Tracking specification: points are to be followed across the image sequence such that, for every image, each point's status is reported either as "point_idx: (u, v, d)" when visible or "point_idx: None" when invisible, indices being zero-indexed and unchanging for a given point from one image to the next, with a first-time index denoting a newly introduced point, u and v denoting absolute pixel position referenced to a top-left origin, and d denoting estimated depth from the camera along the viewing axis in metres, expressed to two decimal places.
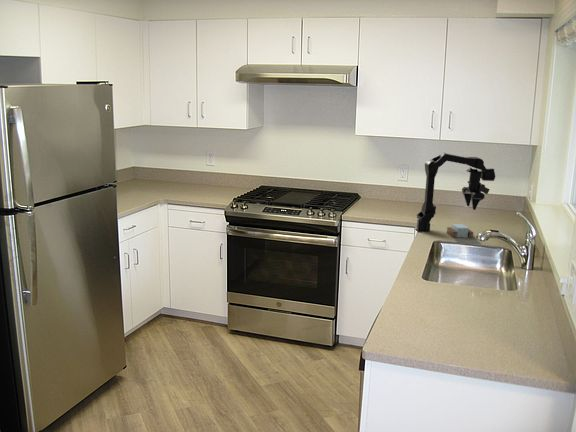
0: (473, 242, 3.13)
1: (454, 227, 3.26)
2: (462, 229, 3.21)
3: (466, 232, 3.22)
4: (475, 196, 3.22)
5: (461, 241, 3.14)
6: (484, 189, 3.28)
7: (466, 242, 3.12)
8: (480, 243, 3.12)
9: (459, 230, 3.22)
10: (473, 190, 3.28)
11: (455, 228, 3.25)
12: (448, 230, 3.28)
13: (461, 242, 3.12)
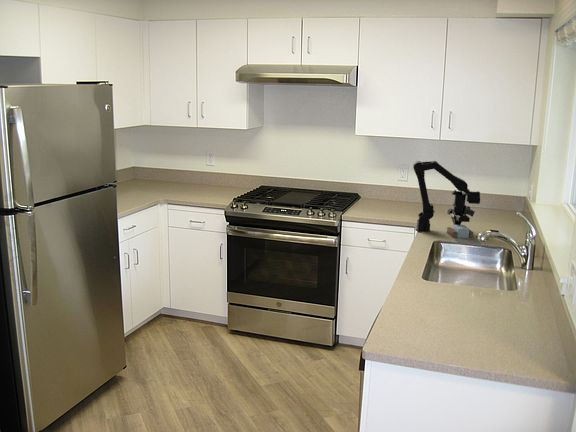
0: (473, 242, 3.13)
1: (455, 228, 3.25)
2: (463, 230, 3.21)
3: (467, 233, 3.21)
4: (460, 219, 3.20)
5: (461, 241, 3.14)
6: (469, 211, 3.26)
7: (466, 242, 3.12)
8: (480, 243, 3.12)
9: (460, 231, 3.21)
10: (458, 213, 3.26)
11: (456, 229, 3.23)
12: (448, 230, 3.28)
13: (461, 242, 3.12)
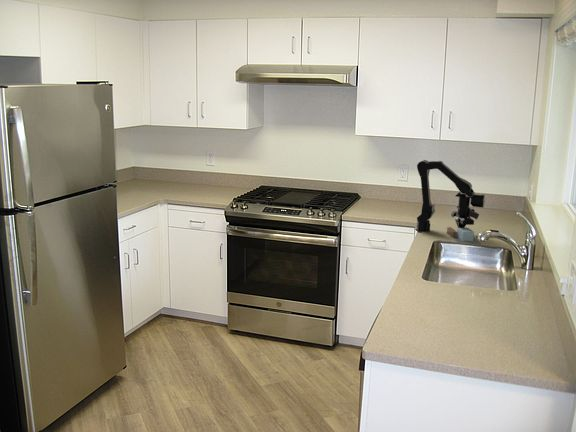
0: (473, 242, 3.13)
1: (459, 231, 3.19)
2: (468, 233, 3.14)
3: (472, 236, 3.15)
4: (464, 222, 3.14)
5: (461, 241, 3.14)
6: (474, 214, 3.20)
7: (466, 242, 3.12)
8: (480, 243, 3.12)
9: (465, 234, 3.14)
10: (462, 215, 3.20)
11: (460, 232, 3.17)
12: (448, 230, 3.28)
13: (461, 242, 3.12)
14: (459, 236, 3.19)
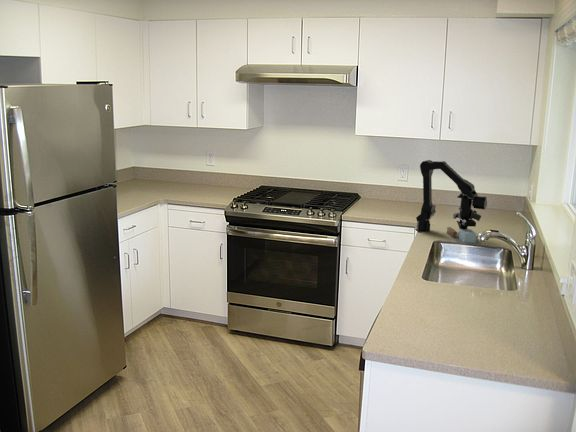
0: None
1: (461, 232, 3.16)
2: (470, 234, 3.11)
3: (474, 237, 3.12)
4: (466, 224, 3.11)
5: (461, 241, 3.14)
6: (476, 216, 3.17)
7: None
8: (480, 243, 3.12)
9: (467, 235, 3.11)
10: (464, 217, 3.17)
11: (462, 233, 3.14)
12: (448, 230, 3.28)
13: (461, 242, 3.12)
14: (461, 238, 3.16)
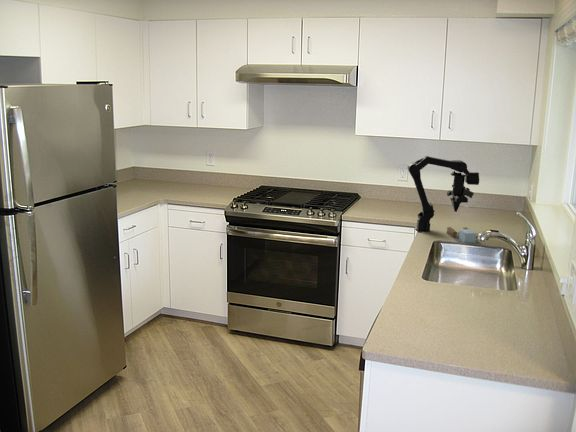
0: None
1: (461, 232, 3.16)
2: (470, 234, 3.11)
3: (474, 237, 3.12)
4: (458, 200, 3.19)
5: (461, 241, 3.14)
6: (468, 193, 3.25)
7: None
8: (480, 243, 3.12)
9: (467, 235, 3.11)
10: (457, 194, 3.25)
11: (462, 233, 3.14)
12: (448, 230, 3.28)
13: (461, 242, 3.12)
14: (461, 238, 3.16)
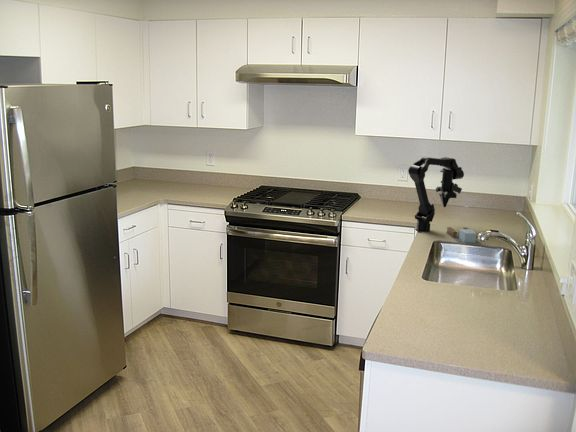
0: None
1: (461, 232, 3.16)
2: (470, 234, 3.11)
3: (474, 237, 3.12)
4: (447, 195, 3.29)
5: (461, 241, 3.14)
6: (456, 188, 3.35)
7: None
8: (480, 243, 3.12)
9: (467, 235, 3.11)
10: (446, 190, 3.35)
11: (462, 233, 3.14)
12: (448, 230, 3.28)
13: (461, 242, 3.12)
14: (461, 238, 3.16)
